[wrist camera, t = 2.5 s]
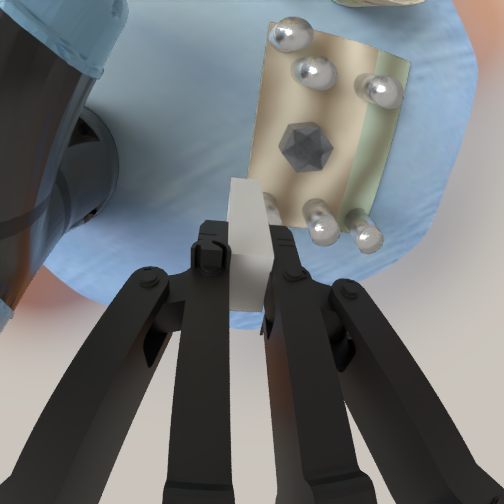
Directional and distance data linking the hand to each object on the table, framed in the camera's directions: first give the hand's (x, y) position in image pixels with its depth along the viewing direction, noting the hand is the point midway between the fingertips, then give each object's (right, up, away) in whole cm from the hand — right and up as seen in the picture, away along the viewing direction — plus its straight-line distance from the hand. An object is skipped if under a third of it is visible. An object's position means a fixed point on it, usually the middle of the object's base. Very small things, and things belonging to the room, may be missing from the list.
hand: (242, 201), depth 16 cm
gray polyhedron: (+6, +8, +13) cm, 16 cm away
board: (+8, +10, +13) cm, 18 cm away
